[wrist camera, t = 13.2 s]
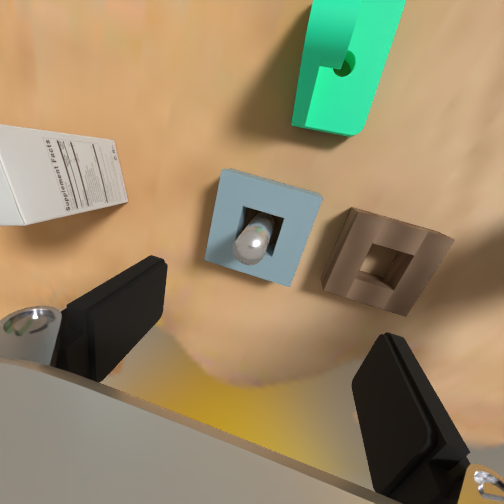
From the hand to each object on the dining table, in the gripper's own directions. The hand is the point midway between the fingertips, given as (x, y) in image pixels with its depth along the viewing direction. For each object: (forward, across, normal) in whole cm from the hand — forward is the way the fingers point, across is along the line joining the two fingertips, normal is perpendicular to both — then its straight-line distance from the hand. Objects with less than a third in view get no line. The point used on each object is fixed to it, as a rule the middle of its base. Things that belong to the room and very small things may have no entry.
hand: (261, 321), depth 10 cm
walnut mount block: (+24, -13, +3) cm, 27 cm away
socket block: (+24, +3, +2) cm, 24 cm away
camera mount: (+24, -1, -16) cm, 29 cm away
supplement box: (+23, +29, +2) cm, 37 cm away
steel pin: (+24, +3, +2) cm, 24 cm away
